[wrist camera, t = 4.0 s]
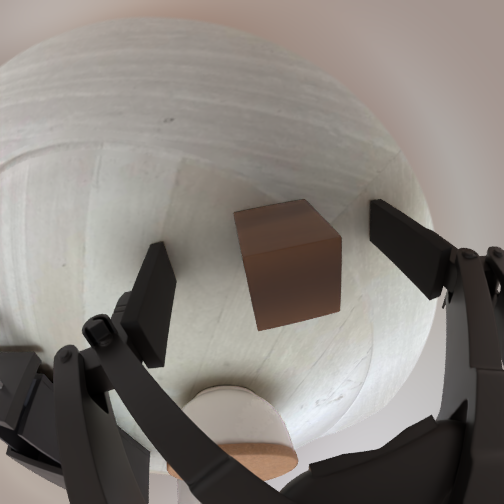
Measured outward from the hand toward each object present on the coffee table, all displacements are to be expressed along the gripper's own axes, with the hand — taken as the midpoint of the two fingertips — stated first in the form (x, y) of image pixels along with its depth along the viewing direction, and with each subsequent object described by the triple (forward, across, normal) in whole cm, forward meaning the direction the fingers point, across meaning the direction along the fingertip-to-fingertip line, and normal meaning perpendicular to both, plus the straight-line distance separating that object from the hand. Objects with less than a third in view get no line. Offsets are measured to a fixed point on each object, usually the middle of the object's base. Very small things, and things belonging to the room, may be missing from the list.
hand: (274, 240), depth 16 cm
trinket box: (0, -6, -16) cm, 17 cm away
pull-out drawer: (-1, -28, -10) cm, 29 cm away
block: (0, 0, 0) cm, 0 cm away
